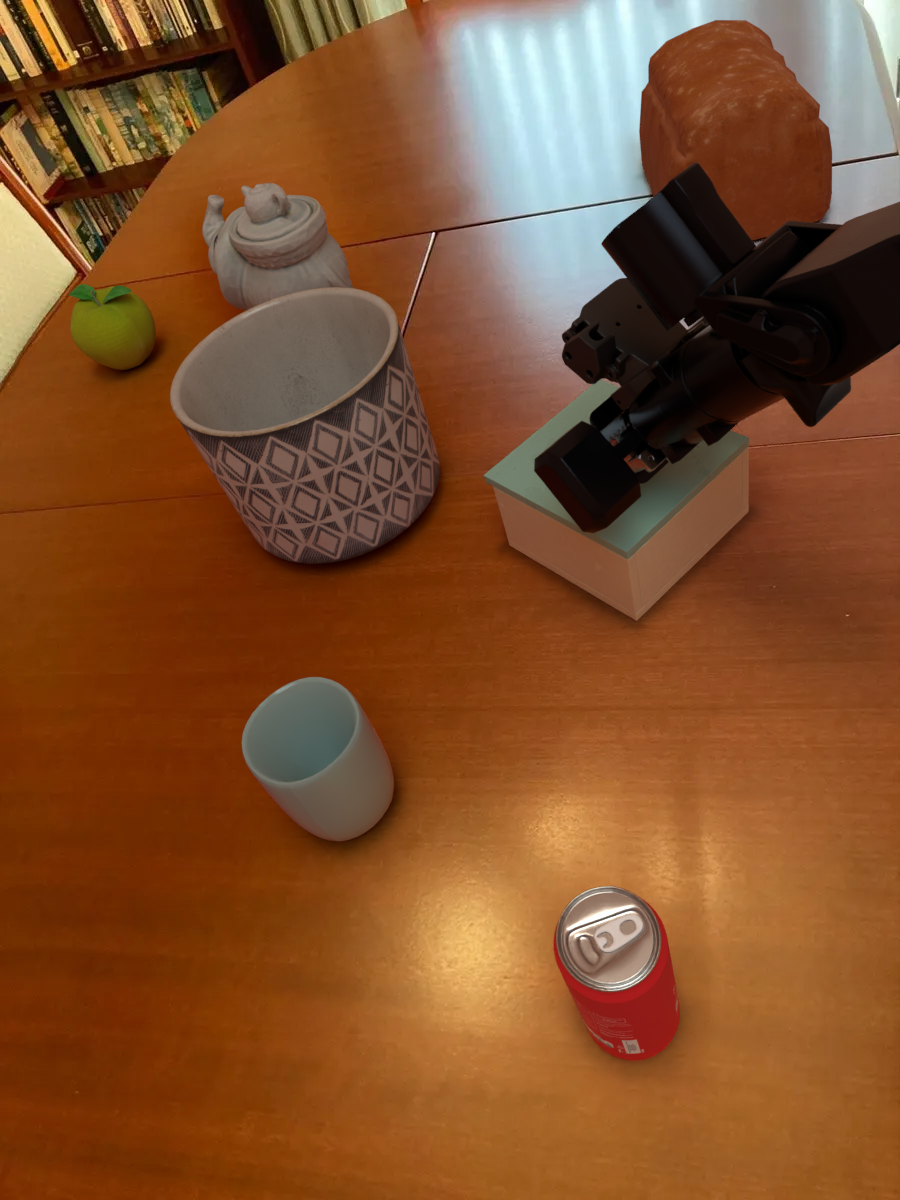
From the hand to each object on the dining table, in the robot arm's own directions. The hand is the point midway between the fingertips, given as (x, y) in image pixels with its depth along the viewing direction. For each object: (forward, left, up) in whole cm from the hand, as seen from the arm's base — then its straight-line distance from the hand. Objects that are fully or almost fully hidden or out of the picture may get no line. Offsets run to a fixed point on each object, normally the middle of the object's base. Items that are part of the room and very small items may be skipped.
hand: (602, 450), depth 66 cm
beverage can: (-8, +37, -8) cm, 39 cm away
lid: (-1, 0, -1) cm, 1 cm away
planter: (+25, -1, -8) cm, 26 cm away
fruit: (+65, -24, -8) cm, 70 cm away
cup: (+13, +28, -8) cm, 32 cm away
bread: (-3, -53, -8) cm, 54 cm away
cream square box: (-1, +1, -8) cm, 8 cm away
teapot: (+42, -28, -8) cm, 51 cm away
